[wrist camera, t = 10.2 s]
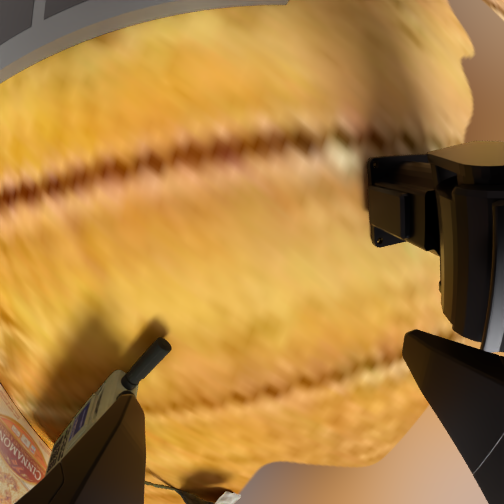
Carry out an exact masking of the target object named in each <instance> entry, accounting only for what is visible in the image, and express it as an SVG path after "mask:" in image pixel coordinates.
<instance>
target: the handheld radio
mask: <svg viewBox="0 0 504 504" xmlns="http://www.w3.org/2000/svg"><path fill="white" fill-rule="evenodd" d="M170 351H171V345H170V344H169V342H168V341H166V340H165V339H163V338H157V340H156V341H155V342H154V343H153V344H152V345H151V346H150V347H149V348H148V350H147V351H146V352H145V353H144V354H143V355H142V356H141V357H140V359H139V360H138V361H137V362H136V363H135V364H134V365H133V366H132V367H131V370H130V371H129V372H128V373H125V372H123V371H122V370H116V371H114V372H113V373H112V374H111V375H110V376H109V377H108V378H107V380H106V381H105V382H104V383H103V384H102V385H101V387H100V388H99V389H98V390H97V391H96V393H93V395H92V396H91V397H90V398H89V400H88V401H87V402H86V403H85V405H84V406H83V407H82V408H81V410H80V411H79V412H78V413H77V414H76V416H75V417H74V419H73V420H72V422H71V423H70V424H69V425H68V427H67V428H66V429H65V431H64V432H63V433H62V434H61V436H60V437H59V438H58V440H57V441H56V442H55V444H54V446H53V449H52V452H51V456H50V459H49V462H48V466H47V470H46V473H45V476H46V475H47V474H48V473H49V472H50V471H51V470H52V469H53V468H54V467H55V466H56V465H57V464H58V462H60V461H61V459H62V458H63V457H64V456H65V455H66V454H67V453H68V452H69V451H70V450H71V449H72V447H73V446H74V445H75V444H76V443H77V442H78V441H79V440H80V439H81V438H82V437H83V436H84V434H85V433H86V432H87V431H88V430H89V429H90V428H91V427H92V426H93V425H94V424H95V423H96V422H97V420H98V419H99V418H100V417H101V416H102V415H103V414H104V413H105V412H106V411H107V410H108V409H109V407H110V406H111V405H112V404H113V403H114V402H115V401H116V400H117V399H118V398H119V397H120V396H121V395H126V394H132V395H134V396H135V397H136V396H137V390H138V384H139V381H140V380H141V379H144V378H145V377H146V376H147V375H148V374H149V373H150V371H151V370H152V369H153V368H154V367H155V366H156V365H157V364H158V363H159V362H160V361H161V360H162V359H163V358H164V357H165V356H166V355H167V354H168V353H169V352H170Z"/></svg>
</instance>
